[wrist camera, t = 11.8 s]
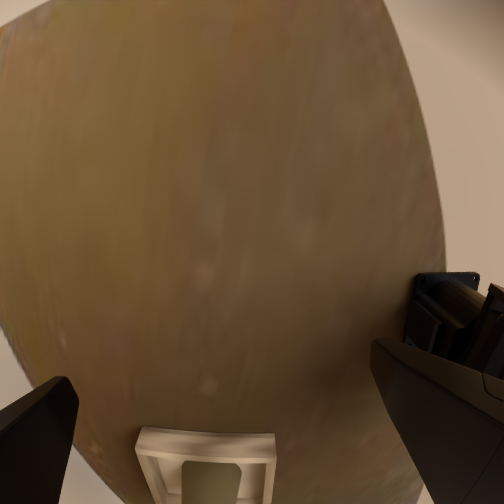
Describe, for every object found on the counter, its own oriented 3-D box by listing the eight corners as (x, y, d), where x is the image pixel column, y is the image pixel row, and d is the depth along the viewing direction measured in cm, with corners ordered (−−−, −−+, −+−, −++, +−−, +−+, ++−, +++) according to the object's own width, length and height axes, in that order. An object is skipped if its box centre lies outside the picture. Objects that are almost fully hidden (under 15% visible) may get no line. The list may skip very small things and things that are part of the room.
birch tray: (274, 433, 25) (276, 457, 23) (267, 497, 29) (268, 517, 26) (142, 425, 25) (134, 448, 22) (163, 491, 28) (158, 510, 25)
